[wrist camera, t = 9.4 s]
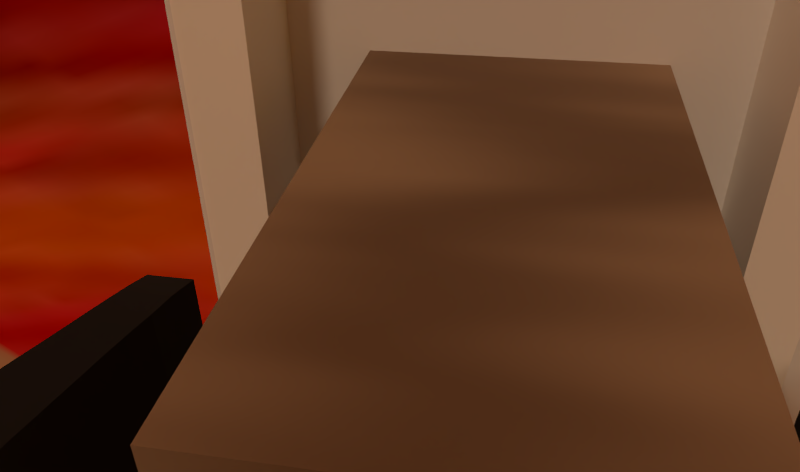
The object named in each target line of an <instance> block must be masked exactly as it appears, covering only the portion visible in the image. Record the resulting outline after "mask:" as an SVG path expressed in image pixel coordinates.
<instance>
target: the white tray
mask: <svg viewBox="0 0 800 472" xmlns="http://www.w3.org/2000/svg"><path fill="white" fill-rule="evenodd" d="M164 2H165V7H166V13H167V18H168V24H169V30H170V35H171V41H172V46H173V52H174V57H175V63H176V68H177V74H178V79H179V85H180V90H181V96H182V101H183V107H184V112H185V118H186V123H187V129H188V134H189V140H190V145H191V151H192V156H193V162H194V167H195V173H196V178H197V184H198V189H199V195H200V201H201V206H202V212H203V217H204V223H205V228H206V234H207V239H208V245H209V250H210V256H211V261H212V267H213V272H214V278H215V283H216V289H217V294H218V300H219V298H220V296H221V295H222V293H223V291H224V290H225V288H226V287H227V285H228V283H229V282H230V280H231V278H232V277H233V275H234V273H235V272H236V270H237V268H238V267H239V265H240V263H241V262H242V260H243V259H244V257H245V255H246V254H247V252H248V250H249V249H250V247H251V245H252V244H253V242H254V240H255V239H256V237H257V236H258V234H259V232H260V231H261V229H262V227H263V226H264V224H265V222H266V221H267V219H268V217H269V216H270V214H271V212H272V211H273V209H274V208H275V206H276V204H277V203H278V201H279V199H280V198H281V196H282V194H283V193H284V191H285V189H286V188H287V186H288V184H289V183H290V181H291V180H292V178H293V176H294V175H295V173H296V171H297V170H298V168H299V166H300V165H301V163H302V161H303V160H304V158H305V157H306V155H307V153H308V152H309V150H310V148H311V147H312V145H313V143H314V142H315V140H316V138H317V137H318V135H319V133H320V132H321V130H322V129H323V127H324V125H325V124H326V122H327V120H328V119H329V117H330V115H331V114H332V112H333V110H334V109H335V107H336V106H337V104H338V102H339V101H340V99H341V97H342V96H343V94H344V92H345V91H346V89H347V87H348V86H349V84H350V82H351V81H352V79H353V78H354V76H355V74H356V73H357V71H358V69H359V68H360V66H361V64H362V63H363V61H364V59H365V58H366V56H367V55H368V53H369V51H370V50H373V51H393V52H413V53H433V54H454V55H474V56H494V57H515V58H535V59H555V60H576V61H596V62H616V63H637V64H657V65H671V68H672V71H673V74H674V77H675V80H676V83H677V86H678V88H679V91H680V94H681V97H682V100H683V103H684V106H685V109H686V112H687V115H688V118H689V121H690V123H691V126H692V129H693V132H694V135H695V138H696V141H697V144H698V147H699V150H700V153H701V156H702V158H703V161H704V164H705V167H706V170H707V173H708V176H709V179H710V182H711V185H712V188H713V191H714V194H715V196H716V199H717V202H718V205H719V208H720V211H721V214H722V217H723V220H724V223H725V226H726V229H727V231H728V234H729V237H730V240H731V243H732V246H733V249H734V252H735V255H736V258H737V261H738V264H739V266H740V269H741V272H742V275H743V278H744V281H745V284H746V287H747V290H748V293H749V296H750V299H751V302H752V304H753V307H754V310H755V313H756V316H757V319H758V322H759V325H760V328H761V331H762V334H763V337H764V339H765V342H766V345H767V348H768V351H769V354H770V357H771V360H772V363H773V366H774V369H775V372H776V374H777V377H778V380H779V383H780V386H781V389H782V392H783V395H784V398H785V401H786V404H787V407H788V410H789V412H790V415H791V418H792V421H793V424H795V421H796V419H797V416H798V413H799V411H800V0H164Z"/></svg>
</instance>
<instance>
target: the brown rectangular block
mask: <svg viewBox="0 0 800 472" xmlns="http://www.w3.org/2000/svg"><path fill="white" fill-rule="evenodd" d="M130 446H131V449H132V453H133V456H134V459H135V463H136V466H137V469H138V472H800V442H799V439H798V436H797V433H796V430H795V427H794V424H793V421H792V418H791V415H790V412H789V410H788V407H787V404H786V401H785V398H784V395H783V392H782V389H781V386H780V383H779V380H778V377H777V374H776V372H775V369H774V366H773V363H772V360H771V357H770V354H769V351H768V348H767V345H766V342H765V339H764V337H763V334H762V331H761V328H760V325H759V322H758V319H757V316H756V313H755V310H754V307H753V304H752V302H751V299H750V296H749V293H748V290H747V287H746V284H745V281H744V278H743V275H742V272H741V269H740V266H739V264H738V261H737V258H736V255H735V252H734V249H733V246H732V243H731V240H730V237H729V234H728V231H727V229H726V226H725V223H724V220H723V217H722V214H721V211H720V208H719V205H718V202H717V199H716V196H715V194H714V191H713V188H712V185H711V182H710V179H709V176H708V173H707V170H706V167H705V164H704V161H703V158H702V156H701V153H700V150H699V147H698V144H697V141H696V138H695V135H694V132H693V129H692V126H691V123H690V121H689V118H688V115H687V112H686V109H685V106H684V103H683V100H682V97H681V94H680V91H679V88H678V86H677V83H676V80H675V77H674V74H673V71H672V68H671V65H657V64H637V63H616V62H596V61H576V60H555V59H535V58H515V57H494V56H474V55H454V54H433V53H413V52H393V51H373V50H370V51H369V53H368V55H367V56H366V58H365V59H364V61H363V63H362V64H361V66H360V68H359V69H358V71H357V73H356V74H355V76H354V78H353V79H352V81H351V82H350V84H349V86H348V87H347V89H346V91H345V92H344V94H343V96H342V97H341V99H340V101H339V102H338V104H337V106H336V107H335V109H334V110H333V112H332V114H331V115H330V117H329V119H328V120H327V122H326V124H325V125H324V127H323V129H322V130H321V132H320V133H319V135H318V137H317V138H316V140H315V142H314V143H313V145H312V147H311V148H310V150H309V152H308V153H307V155H306V157H305V158H304V160H303V161H302V163H301V165H300V166H299V168H298V170H297V171H296V173H295V175H294V176H293V178H292V180H291V181H290V183H289V184H288V186H287V188H286V189H285V191H284V193H283V194H282V196H281V198H280V199H279V201H278V203H277V204H276V206H275V208H274V209H273V211H272V212H271V214H270V216H269V217H268V219H267V221H266V222H265V224H264V226H263V227H262V229H261V231H260V232H259V234H258V236H257V237H256V239H255V240H254V242H253V244H252V245H251V247H250V249H249V250H248V252H247V254H246V255H245V257H244V259H243V260H242V262H241V263H240V265H239V267H238V268H237V270H236V272H235V273H234V275H233V277H232V278H231V280H230V282H229V283H228V285H227V287H226V288H225V290H224V291H223V293H222V295H221V296H220V298H219V300H218V301H217V303H216V305H215V306H214V308H213V310H212V311H211V313H210V314H209V316H208V318H207V319H206V321H205V323H204V324H203V326H202V328H201V329H200V331H199V333H198V334H197V336H196V338H195V339H194V341H193V342H192V344H191V346H190V347H189V349H188V351H187V352H186V354H185V356H184V357H183V359H182V361H181V362H180V364H179V365H178V367H177V369H176V370H175V372H174V374H173V375H172V377H171V379H170V380H169V382H168V384H167V385H166V387H165V389H164V390H163V392H162V393H161V395H160V397H159V398H158V400H157V402H156V403H155V405H154V407H153V408H152V410H151V412H150V413H149V415H148V417H147V418H146V420H145V421H144V423H143V425H142V426H141V428H140V430H139V431H138V433H137V435H136V436H135V438H134V440H133V441H132V443H131V444H130Z"/></svg>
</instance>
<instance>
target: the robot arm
mask: <svg viewBox="0 0 800 472" xmlns="http://www.w3.org/2000/svg"><path fill="white" fill-rule="evenodd" d="M202 326H203V325H202V320H201V315H200V310H199V305H198V300H197V295H196V290H195V285H194V280H192V279H182V278H172V277H162V276H152V275H146V276H144V277H143V278H141V279H139V280H138V281H136V282H134V283H132V284H131V285H129V286H127V287H126V288H124V289H122V290H121V291H119V292H118V293H116V294H115V295H113V296H111V297H110V298H108V299H107V300H105V301H104V302H102V303H101V304H99V305H98V306H96V307H94V308H93V309H91V310H90V311H88V312H87V313H85V314H84V315H82V316H81V317H79V318H78V319H76V320H75V321H73V322H72V323H70V324H69V325H67V326H66V327H64V328H63V329H61V330H59V331H58V332H56V333H55V334H53V335H52V336H50V337H49V338H47V339H46V340H44V341H43V342H41V343H40V344H38V345H36V346H35V347H33V348H32V349H30V350H29V351H27V352H26V353H24V354H23V355H21V356H19V357H18V358H16V359H15V360H13V361H12V362H10V363H9V364H7V365H6V366H4V367H2V368H1V369H0V472H138V469H137V466H136V463H135V459H134V456H133V453H132V449H131V446H130V444H131V443H132V441H133V440H134V438H135V436H136V435H137V433H138V431H139V430H140V428H141V426H142V425H143V423H144V421H145V420H146V418H147V417H148V415H149V413H150V412H151V410H152V408H153V407H154V405H155V403H156V402H157V400H158V398H159V397H160V395H161V393H162V392H163V390H164V389H165V387H166V385H167V384H168V382H169V380H170V379H171V377H172V375H173V374H174V372H175V370H176V369H177V367H178V365H179V364H180V362H181V361H182V359H183V357H184V356H185V354H186V352H187V351H188V349H189V347H190V346H191V344H192V342H193V341H194V339H195V338H196V336H197V334H198V333H199V331H200V329H201V328H202ZM794 427H795V430H796V433H797V436H798V439H799V442H800V411H799V413H798V416H797V419H796V421H795V424H794Z"/></svg>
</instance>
